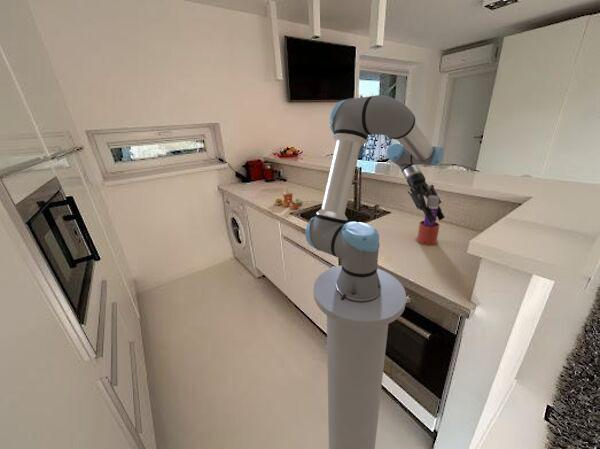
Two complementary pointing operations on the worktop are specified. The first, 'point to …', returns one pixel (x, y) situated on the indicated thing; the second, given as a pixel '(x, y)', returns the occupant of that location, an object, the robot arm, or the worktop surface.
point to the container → (432, 209)
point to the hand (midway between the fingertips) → (437, 219)
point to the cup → (428, 234)
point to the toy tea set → (288, 200)
